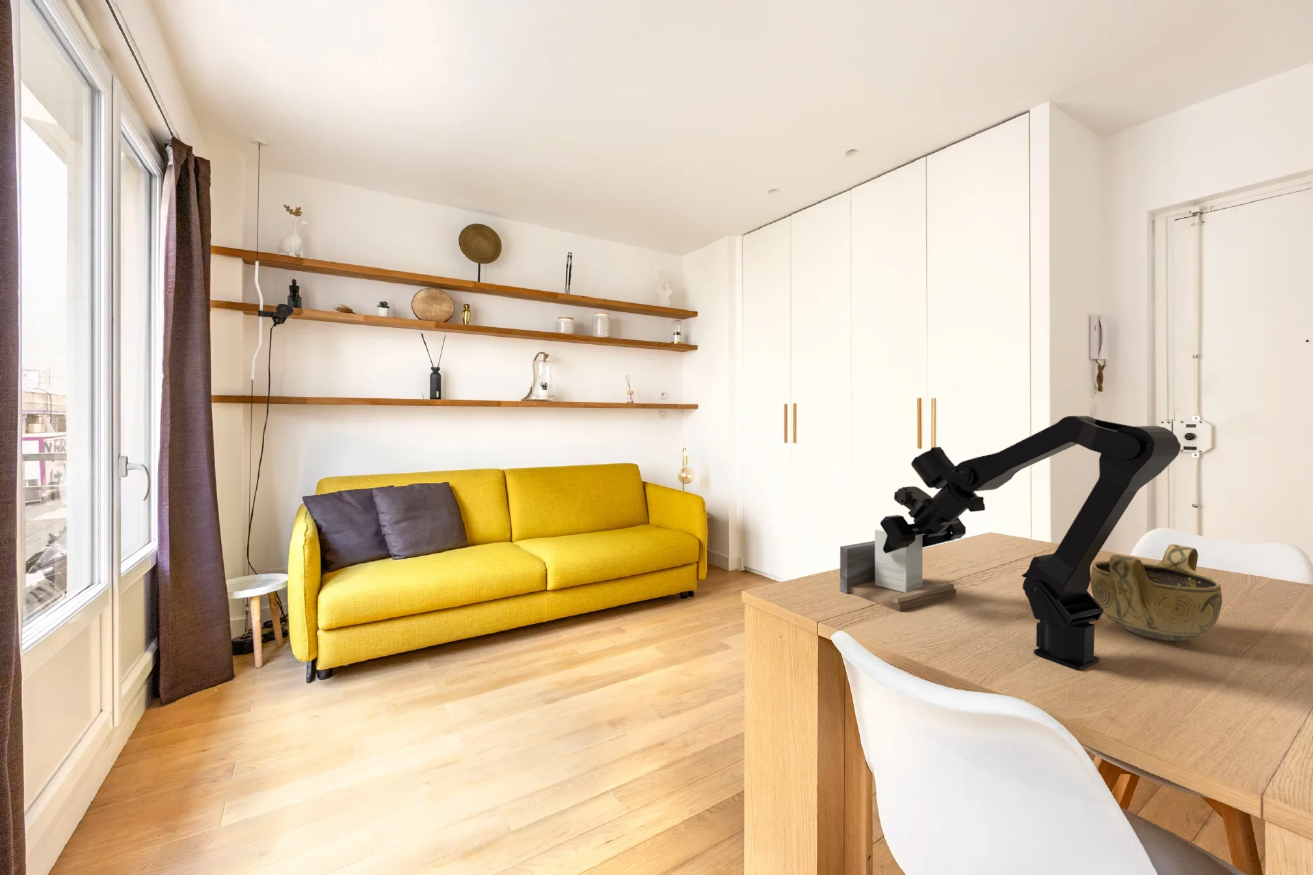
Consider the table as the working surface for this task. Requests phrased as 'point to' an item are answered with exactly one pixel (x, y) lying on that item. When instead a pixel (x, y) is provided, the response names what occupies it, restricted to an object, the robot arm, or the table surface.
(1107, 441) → the robot arm
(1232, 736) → the table surface
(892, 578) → the supplement box
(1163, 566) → the ceramic bowl
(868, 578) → the ledge
